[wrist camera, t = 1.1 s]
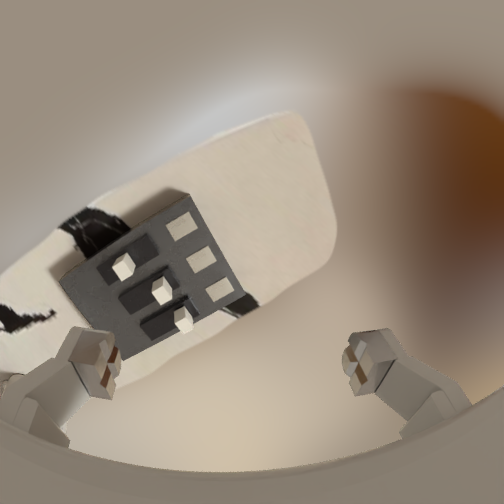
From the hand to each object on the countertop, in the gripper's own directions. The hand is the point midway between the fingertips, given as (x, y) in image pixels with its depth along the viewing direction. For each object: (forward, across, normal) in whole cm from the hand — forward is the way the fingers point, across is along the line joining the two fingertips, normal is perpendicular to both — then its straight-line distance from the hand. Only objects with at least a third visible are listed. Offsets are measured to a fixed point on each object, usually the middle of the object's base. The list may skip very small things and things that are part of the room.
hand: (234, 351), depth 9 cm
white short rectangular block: (+25, -5, -19) cm, 32 cm away
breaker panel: (+29, -11, -16) cm, 35 cm away
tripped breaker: (+25, -13, -11) cm, 30 cm away
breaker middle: (+25, -8, -14) cm, 30 cm away
